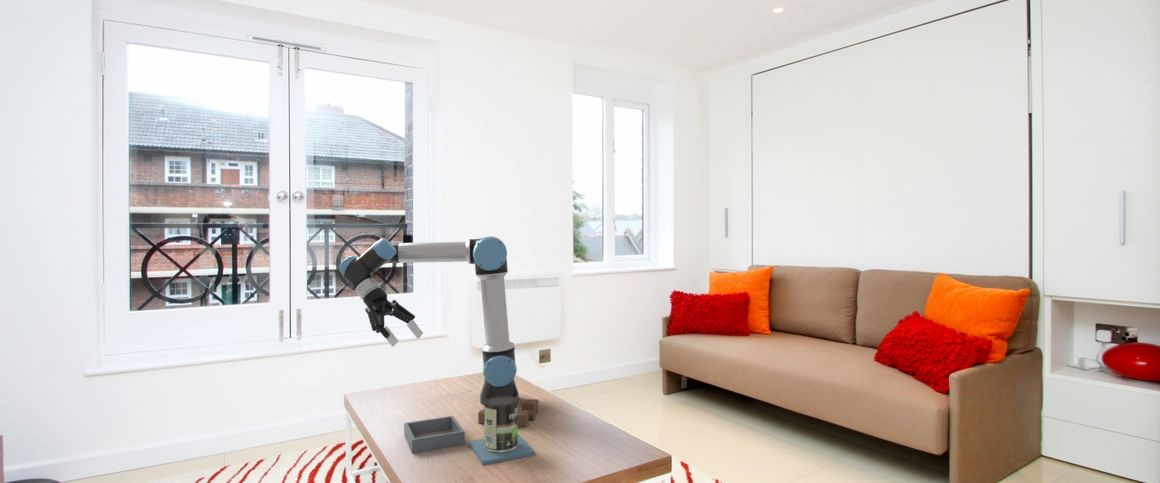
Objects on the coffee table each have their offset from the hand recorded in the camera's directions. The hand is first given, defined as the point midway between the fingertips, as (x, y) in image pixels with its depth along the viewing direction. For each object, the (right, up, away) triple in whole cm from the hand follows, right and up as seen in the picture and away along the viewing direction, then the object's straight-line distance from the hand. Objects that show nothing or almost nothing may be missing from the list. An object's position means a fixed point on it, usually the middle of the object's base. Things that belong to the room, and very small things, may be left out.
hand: (408, 339), depth 185 cm
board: (+34, -30, -19) cm, 49 cm away
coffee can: (+34, -29, -18) cm, 49 cm away
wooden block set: (+33, -30, +10) cm, 46 cm away
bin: (+11, -30, -11) cm, 34 cm away
